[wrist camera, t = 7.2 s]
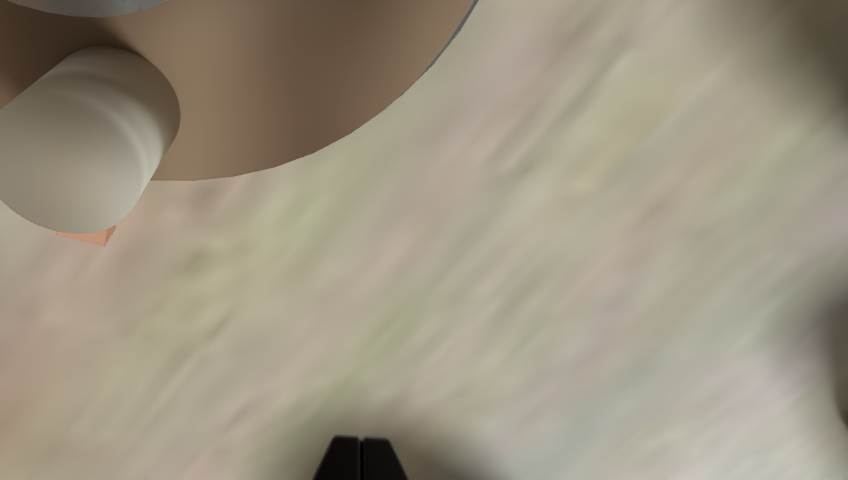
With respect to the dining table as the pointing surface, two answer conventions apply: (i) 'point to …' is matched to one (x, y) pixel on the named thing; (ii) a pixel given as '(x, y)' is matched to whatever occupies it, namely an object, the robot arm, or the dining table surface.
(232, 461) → the dining table surface
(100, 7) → the cast cover
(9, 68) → the lazy susan
